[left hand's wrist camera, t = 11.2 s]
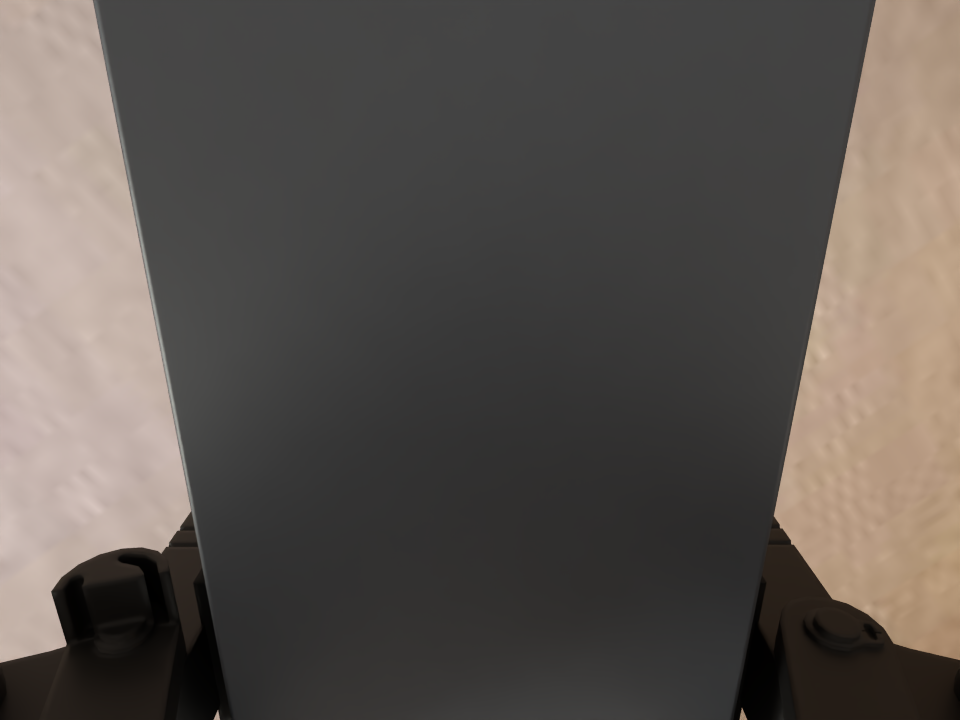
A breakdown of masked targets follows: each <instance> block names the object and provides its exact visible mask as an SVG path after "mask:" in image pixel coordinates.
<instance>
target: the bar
mask: <svg viewBox="0 0 960 720" xmlns="http://www.w3.org/2000/svg"><path fill="white" fill-rule="evenodd" d="M875 1H876V0H93V3H94V8H95V13H96V18H97V23H98V29H99V34H100V39H101V44H102V49H103V54H104V60H105V65H106V70H107V75H108V80H109V86H110V91H111V96H112V101H113V106H114V112H115V117H116V122H117V127H118V132H119V138H120V143H121V148H122V153H123V158H124V163H125V169H126V174H127V179H128V184H129V189H130V195H131V200H132V205H133V210H134V215H135V221H136V226H137V231H138V236H139V241H140V247H141V252H142V257H143V262H144V267H145V273H146V278H147V283H148V288H149V293H150V298H151V304H152V309H153V314H154V319H155V324H156V330H157V335H158V340H159V345H160V350H161V356H162V361H163V366H164V371H165V376H166V382H167V387H168V392H169V397H170V402H171V408H172V413H173V418H174V423H175V428H176V433H177V439H178V444H179V449H180V454H181V459H182V465H183V470H184V475H185V480H186V485H187V491H188V496H189V501H190V506H191V511H192V517H193V522H194V527H195V532H196V537H197V542H198V548H199V553H200V558H201V563H202V568H203V574H204V579H205V584H206V589H207V594H208V600H209V605H210V610H211V615H212V620H213V626H214V631H215V636H216V641H217V646H218V652H219V657H220V662H221V667H222V672H223V677H224V683H225V688H226V693H227V698H228V703H229V709H230V714H231V719H232V720H733V719H734V713H735V708H736V703H737V698H738V693H739V688H740V683H741V678H742V673H743V668H744V663H745V658H746V653H747V648H748V643H749V638H750V633H751V628H752V623H753V618H754V612H755V607H756V602H757V597H758V592H759V587H760V582H761V577H762V572H763V567H764V562H765V557H766V552H767V547H768V542H769V537H770V532H771V527H772V522H773V517H774V511H775V506H776V501H777V496H778V491H779V486H780V481H781V476H782V471H783V466H784V461H785V456H786V451H787V446H788V441H789V436H790V431H791V426H792V421H793V416H794V410H795V405H796V400H797V395H798V390H799V385H800V380H801V375H802V370H803V365H804V360H805V355H806V350H807V345H808V340H809V335H810V330H811V325H812V320H813V315H814V309H815V304H816V299H817V294H818V289H819V284H820V279H821V274H822V269H823V264H824V259H825V254H826V249H827V244H828V239H829V234H830V229H831V224H832V219H833V213H834V208H835V203H836V198H837V193H838V188H839V183H840V178H841V173H842V168H843V163H844V158H845V153H846V148H847V143H848V138H849V133H850V128H851V123H852V118H853V112H854V107H855V102H856V97H857V92H858V87H859V82H860V77H861V72H862V67H863V62H864V57H865V52H866V47H867V42H868V37H869V32H870V27H871V22H872V17H873V11H874V6H875Z"/></svg>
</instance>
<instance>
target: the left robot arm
mask: <svg viewBox="0 0 960 720" xmlns="http://www.w3.org/2000/svg"><path fill="white" fill-rule="evenodd" d="M51 593H52V596H53V599H54V603H55V606H56V609H57V613H58V616H59V619H60V623H61V626H62V629H63V633H64V636H65V639H66V643H67V645H66V647H63V648H59V649H56V650H53V651H49V652H45V653H41V654H36V655H32V656H28V657H24V658H19V659H15V660H11V661H6V662H2V663H0V720H214V717H215V715H216V713H217V711H219V716H220V720H232V719H231V714H230V709H229V703H228V698H227V693H226V688H225V683H224V677H223V672H222V667H221V662H220V657H219V652H218V646H217V641H216V636H215V631H214V626H213V620H212V615H211V610H210V605H209V600H208V594H207V589H206V584H205V579H204V574H203V568H202V563H201V558H200V553H199V548H198V542H197V537H196V532H195V527H194V522H193V517H192V511H191V512H190V514H189V515H188V517H187V518H186V520H185V521H184V522H183V524H182V525H181V527H180V531H177V532H176V534H175V535H174V537H173V538H172V539H171V541H170V542H169V547H166V548H165V549H164V551H163V552H162V554H161V553H159V552H158V551H155V550H151V549H146V548H126V549H119V550H115V551H111V552H108V553H104V554H100V555H98V556H96V557H94V558H92V559H89V560H87V561H85V562H83V563H81V564H79V565H78V566H76V567H75V568H74V569H72V570H71V571H70V572H68V573H67V574H66V575H64V576H63V577H62V578H61V579H60V580H59V582H58V583H57V584H56V586H55V587H54V589H53V590H52V591H51ZM742 708H743V711H744V713H745V715H746V718H747V720H960V660H957V659H952V658H948V657H944V656H939V655H935V654H931V653H926V652H922V651H918V650H913V649H909V648H906V647H903V646H899V645H896V644H893V642H892V641H891V639H890V637H889V636H888V634H887V633H886V631H885V630H884V628H883V627H882V626H880V625H879V624H878V623H877V622H876V621H875V620H873V619H872V618H871V617H870V616H869V615H868V614H866V613H864V612H862V611H860V610H858V609H856V608H854V607H853V606H851V605H849V604H847V603H843V602H840V601H836V600H833V599H832V598H831V597H830V595H829V594H828V592H827V591H826V590H825V588H824V587H823V585H822V584H821V583H820V581H819V580H818V578H817V577H816V575H815V574H814V573H813V571H812V570H811V568H810V567H809V566H808V564H807V563H806V561H805V560H804V559H803V557H802V556H801V554H800V553H799V551H798V550H797V549H796V547H795V546H794V545H791V540H790V539H789V537H788V536H787V534H786V533H785V532H784V530H783V529H780V525H779V523H778V522H777V520H776V519H775V517H773V522H772V527H771V532H770V537H769V542H768V547H767V552H766V557H765V562H764V567H763V572H762V577H761V582H760V587H759V592H758V597H757V602H756V607H755V612H754V618H753V623H752V628H751V633H750V638H749V643H748V648H747V653H746V658H745V663H744V668H743V673H742V678H741V683H740V688H739V693H738V698H737V703H736V708H735V713H734V719H733V720H739V719H740V714H741V709H742Z"/></svg>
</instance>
